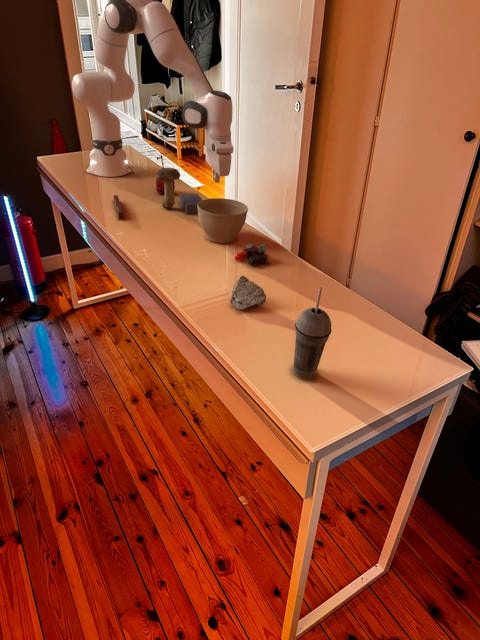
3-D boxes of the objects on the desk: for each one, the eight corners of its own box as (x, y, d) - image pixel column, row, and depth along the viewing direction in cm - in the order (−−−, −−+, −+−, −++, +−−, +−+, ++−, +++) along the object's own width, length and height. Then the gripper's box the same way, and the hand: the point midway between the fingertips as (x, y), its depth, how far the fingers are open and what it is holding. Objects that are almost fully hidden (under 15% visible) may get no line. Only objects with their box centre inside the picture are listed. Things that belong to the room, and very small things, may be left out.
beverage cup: (285, 380, 98) (300, 296, 87) (288, 359, 104) (302, 278, 93) (321, 386, 97) (340, 302, 86) (321, 365, 103) (339, 284, 92)
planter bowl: (254, 237, 159) (257, 206, 153) (226, 252, 148) (229, 219, 142) (215, 224, 166) (217, 194, 160) (186, 237, 154) (186, 205, 149)
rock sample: (217, 293, 118) (241, 267, 118) (220, 298, 125) (242, 274, 126) (248, 320, 117) (272, 294, 117) (249, 324, 124) (272, 299, 125)
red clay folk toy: (161, 196, 186) (161, 157, 178) (152, 191, 190) (151, 152, 182) (177, 194, 190) (178, 155, 182) (168, 189, 194) (168, 151, 186)
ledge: (113, 201, 177) (113, 195, 175) (117, 201, 177) (117, 195, 176) (118, 219, 162) (118, 212, 161) (123, 219, 163) (123, 212, 162)
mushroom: (167, 215, 170) (168, 172, 162) (150, 208, 174) (150, 167, 166) (185, 209, 176) (187, 168, 168) (169, 203, 181) (169, 162, 172)
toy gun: (252, 248, 152) (253, 234, 149) (270, 264, 143) (272, 249, 141) (224, 252, 148) (226, 237, 145) (242, 268, 139) (243, 253, 136)
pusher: (179, 202, 182) (179, 194, 180) (197, 202, 184) (198, 193, 182) (186, 214, 172) (186, 204, 170) (205, 213, 174) (205, 204, 172)
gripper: (202, 135, 175) (200, 173, 182) (217, 149, 159) (215, 190, 166) (218, 135, 177) (216, 173, 184) (235, 149, 161) (232, 189, 168)
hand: (216, 181), depth 175 cm, fingers closed
